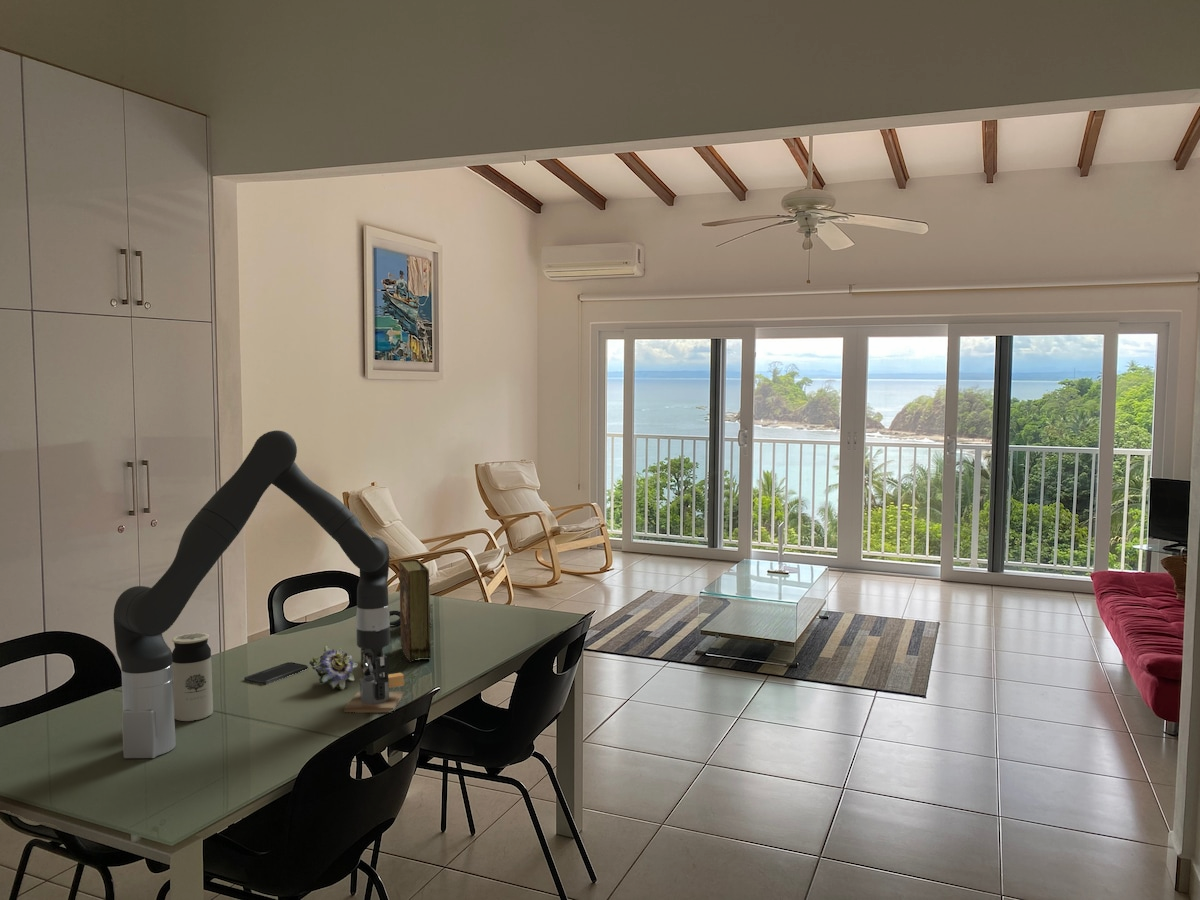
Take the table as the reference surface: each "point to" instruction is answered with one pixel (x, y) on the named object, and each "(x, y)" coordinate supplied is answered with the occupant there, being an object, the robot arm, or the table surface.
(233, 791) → the table surface
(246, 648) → the table surface
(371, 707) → the base
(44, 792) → the table surface
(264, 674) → the phone
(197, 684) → the travel mug
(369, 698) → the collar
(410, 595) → the book
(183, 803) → the table surface
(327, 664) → the passion flower
